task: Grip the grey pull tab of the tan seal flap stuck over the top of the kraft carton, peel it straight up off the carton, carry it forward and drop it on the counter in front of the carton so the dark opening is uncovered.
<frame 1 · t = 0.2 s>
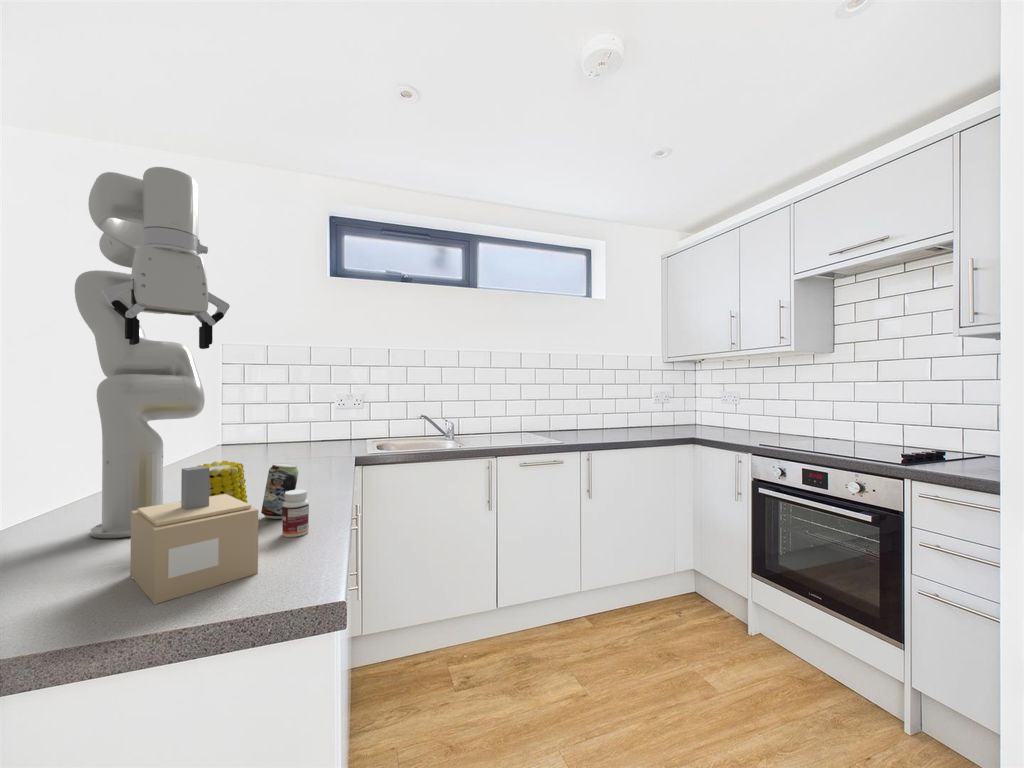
hand: (170, 346, 75), 36 cm above the countertop, tool pointing down, fingers open, 9 cm apart
flap: (195, 509, 70), point 10 cm above the countertop, touching carton
food: (218, 535, 88), on the countertop
carton: (194, 574, 70), on the countertop
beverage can: (279, 517, 100), on the countertop
pill bottle: (295, 534, 89), on the countertop
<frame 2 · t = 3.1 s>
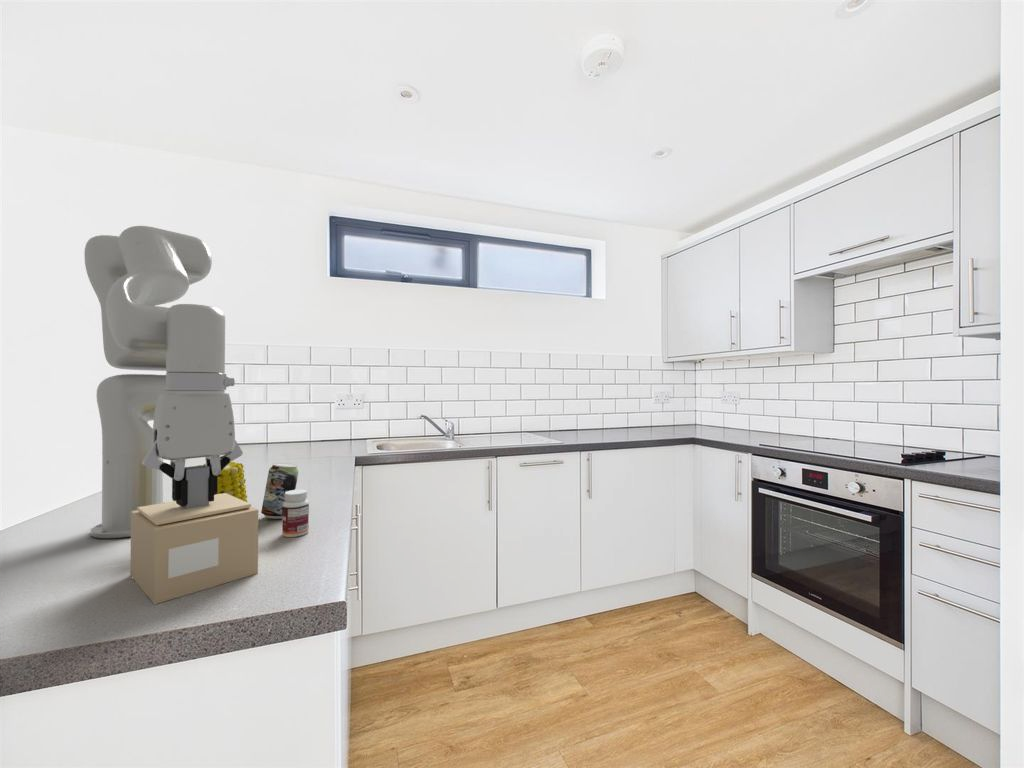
hand: (195, 501, 70), 11 cm above the countertop, tool pointing down, fingers closed on flap, 2 cm apart
flap: (195, 508, 70), point 10 cm above the countertop, touching gripper
everything else where it was.
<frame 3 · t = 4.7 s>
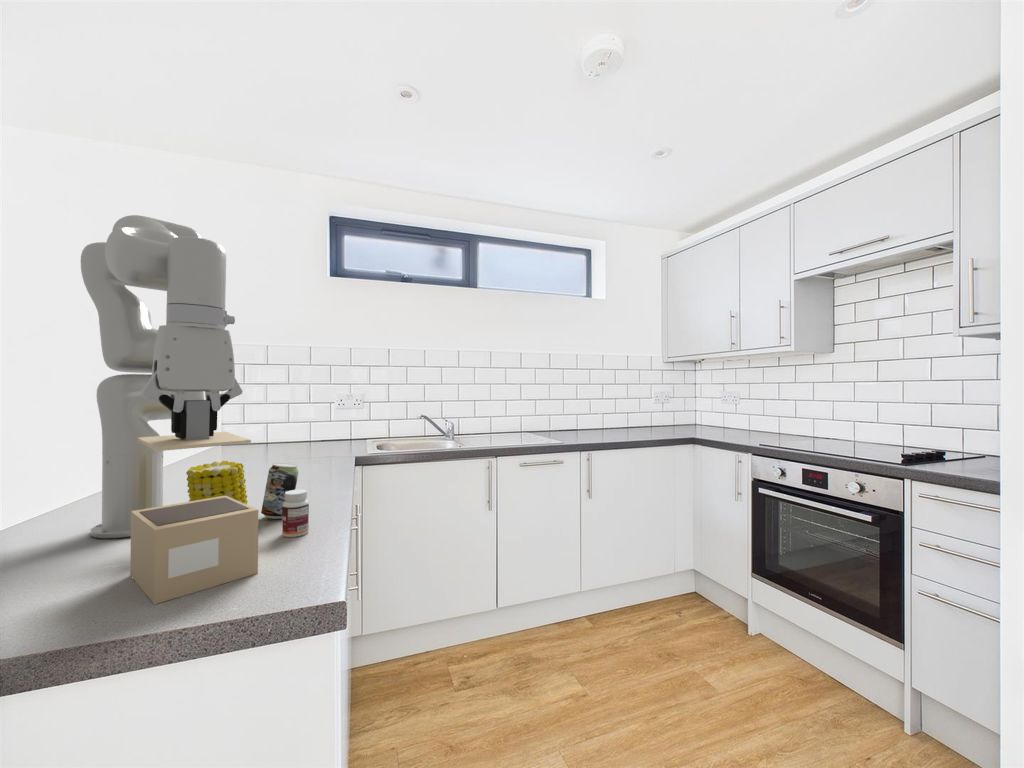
hand: (194, 435, 70), 22 cm above the countertop, tool pointing down, fingers closed on flap, 3 cm apart
flap: (195, 441, 70), point 21 cm above the countertop, touching gripper
everything else where it was.
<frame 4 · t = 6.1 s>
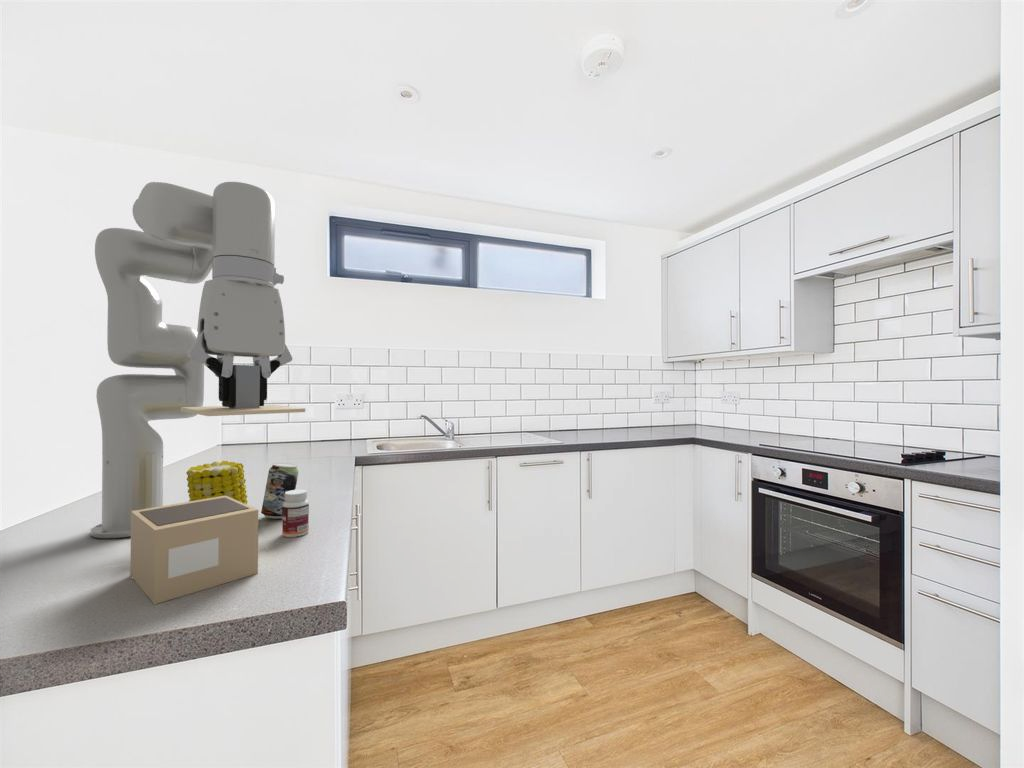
hand: (243, 405, 63), 27 cm above the countertop, tool pointing down, fingers closed on flap, 3 cm apart
flap: (244, 411, 63), point 26 cm above the countertop, touching gripper
everything else where it was.
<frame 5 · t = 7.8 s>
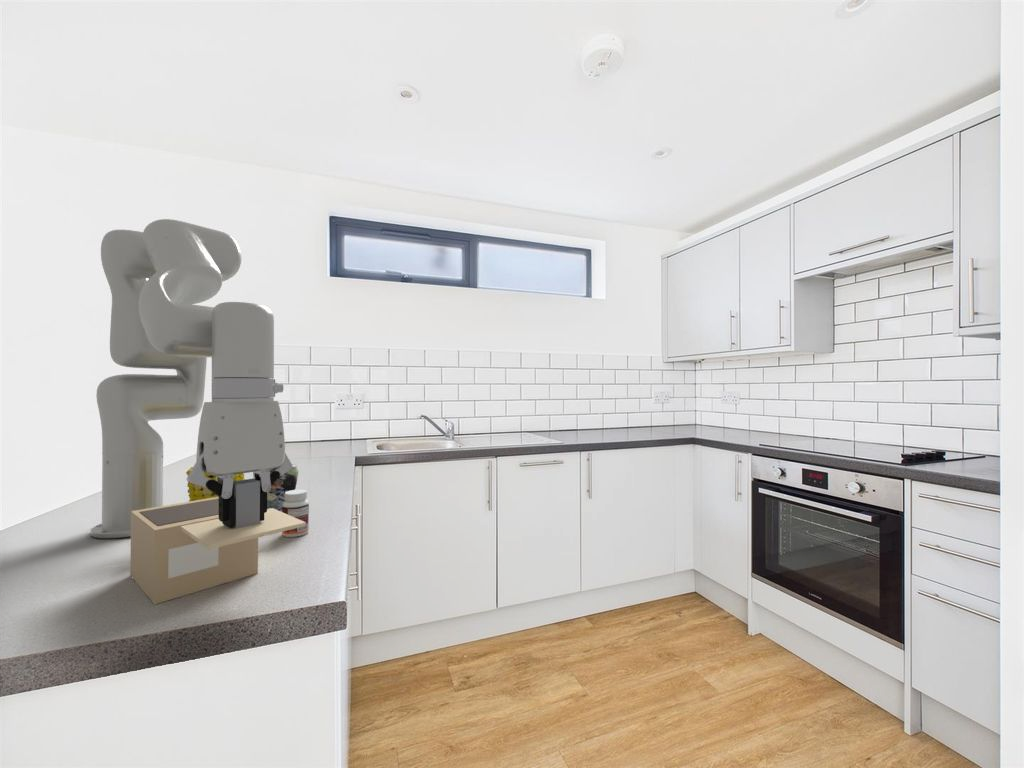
hand: (243, 521, 63), 11 cm above the countertop, tool pointing down, fingers closed on flap, 3 cm apart
flap: (244, 527, 62), point 10 cm above the countertop, touching gripper
everything else where it was.
when the fingers open (4 cm above the countertop, at t = 9.3 s): flap drops 4 cm, on the countertop.
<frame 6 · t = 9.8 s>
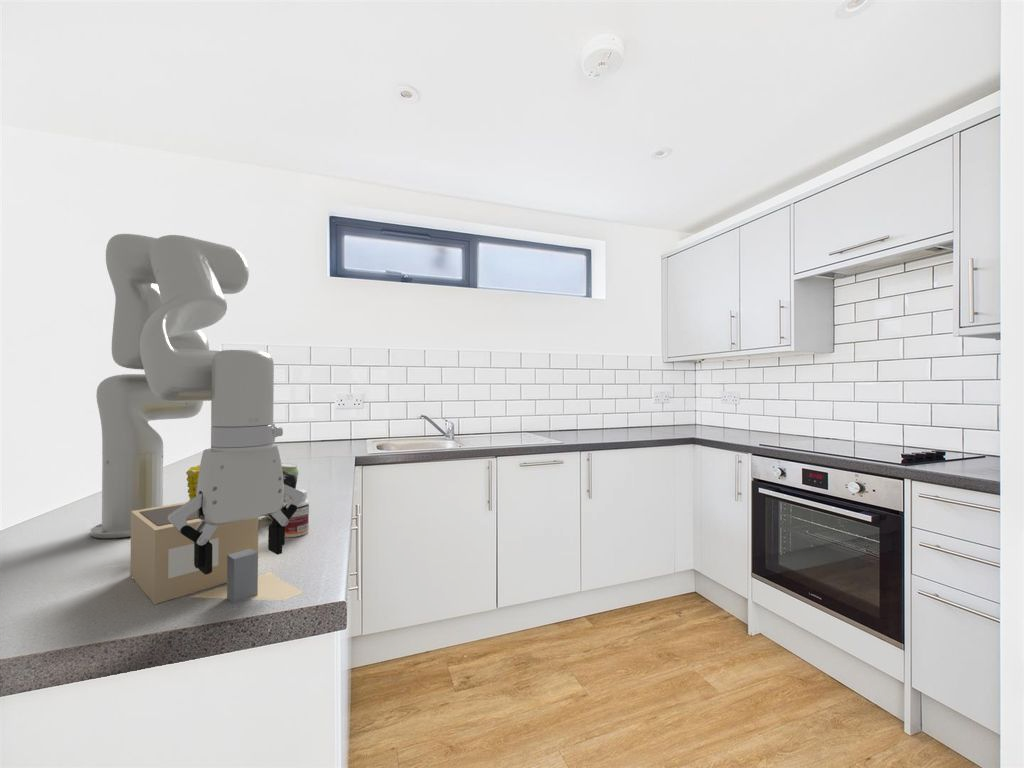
hand: (242, 560, 63), 5 cm above the countertop, tool pointing down, fingers open, 8 cm apart
flap: (242, 599, 63), on the countertop
everything else where it was.
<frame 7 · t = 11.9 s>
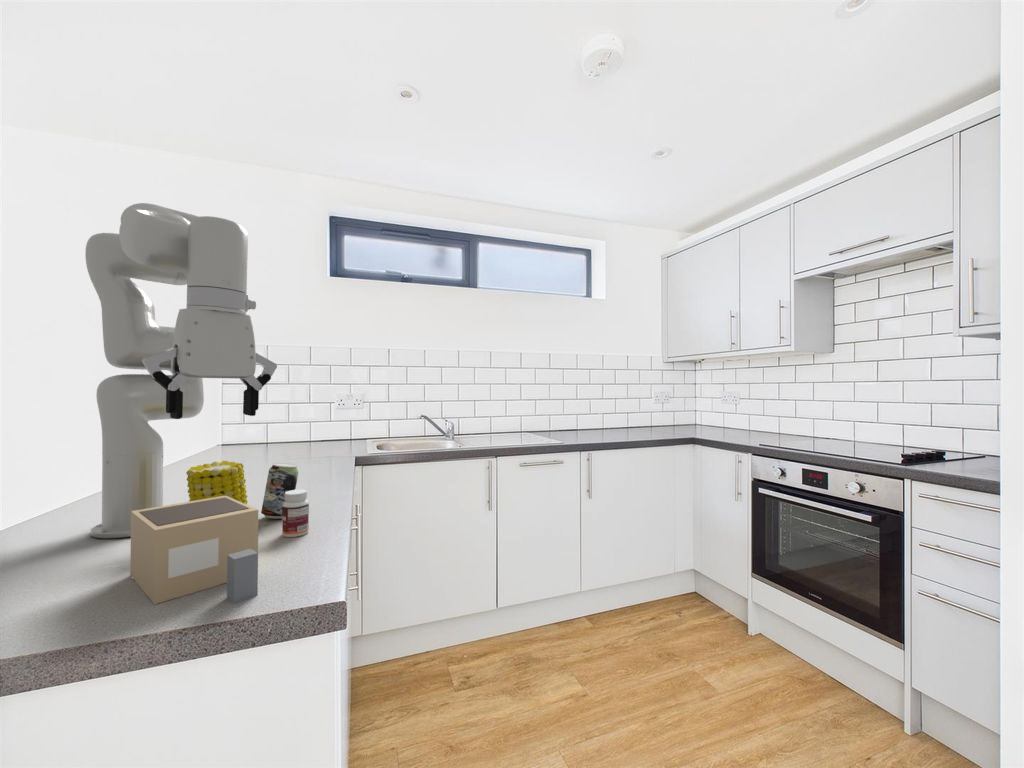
hand: (214, 416, 68), 25 cm above the countertop, tool pointing down, fingers open, 9 cm apart
nothing on the countertop moved.
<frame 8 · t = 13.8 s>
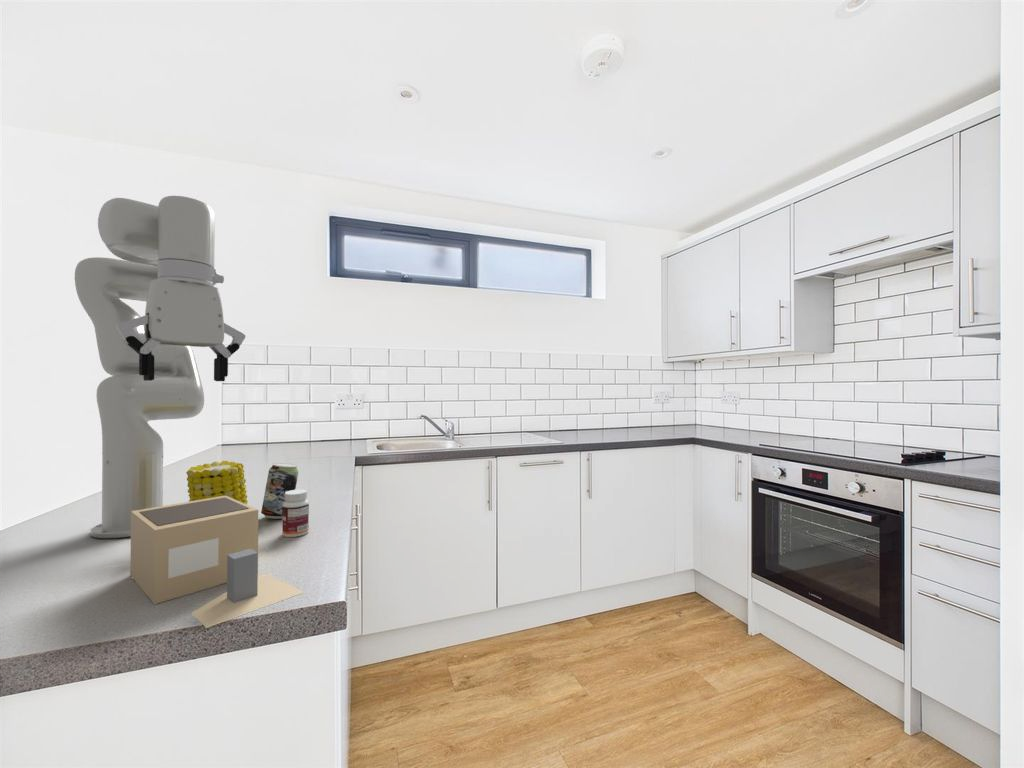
hand: (185, 380, 73), 30 cm above the countertop, tool pointing down, fingers open, 9 cm apart
nothing on the countertop moved.
at the end: flap moved 17.3 cm from its start; flap on the countertop; the gripper is holding nothing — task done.
